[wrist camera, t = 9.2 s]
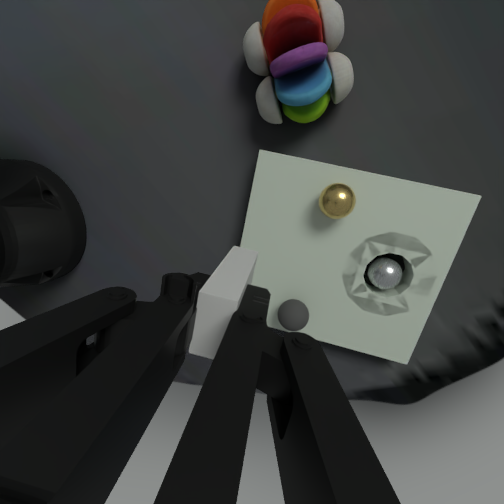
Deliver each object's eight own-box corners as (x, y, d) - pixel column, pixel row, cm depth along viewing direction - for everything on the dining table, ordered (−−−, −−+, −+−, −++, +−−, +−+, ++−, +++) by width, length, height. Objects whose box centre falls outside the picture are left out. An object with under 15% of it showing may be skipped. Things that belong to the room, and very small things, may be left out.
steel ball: (359, 284, 29) (392, 297, 27) (369, 255, 28) (404, 267, 26) (367, 278, 31) (398, 289, 30) (377, 251, 31) (409, 261, 29)
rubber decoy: (275, 316, 31) (273, 332, 28) (282, 290, 30) (280, 303, 27) (304, 324, 31) (304, 341, 28) (312, 298, 30) (313, 312, 27)
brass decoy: (313, 212, 28) (315, 217, 25) (322, 178, 27) (325, 179, 24) (346, 219, 27) (352, 225, 24) (357, 186, 26) (364, 187, 23)
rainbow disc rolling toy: (333, -4, 25) (345, -71, 18) (353, 112, 27) (370, 91, 20) (242, 33, 27) (221, -15, 20) (267, 138, 29) (256, 128, 22)
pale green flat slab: (231, 305, 35) (226, 315, 32) (263, 151, 29) (259, 149, 27) (399, 350, 32) (407, 364, 30) (465, 193, 27) (481, 195, 25)
